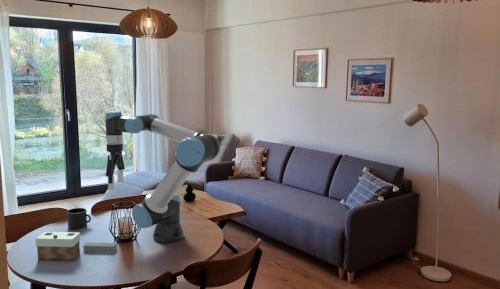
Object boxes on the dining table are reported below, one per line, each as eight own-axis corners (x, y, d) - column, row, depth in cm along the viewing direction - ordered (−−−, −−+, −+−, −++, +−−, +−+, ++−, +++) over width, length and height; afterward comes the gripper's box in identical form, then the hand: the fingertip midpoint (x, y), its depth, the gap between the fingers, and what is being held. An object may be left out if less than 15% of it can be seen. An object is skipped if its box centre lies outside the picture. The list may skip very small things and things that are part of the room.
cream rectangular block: (80, 239, 191) (79, 230, 191) (72, 247, 183) (72, 237, 183) (45, 239, 192) (44, 229, 191) (35, 246, 184) (35, 236, 183)
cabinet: (80, 255, 191) (78, 233, 190) (74, 261, 186) (73, 238, 184) (44, 254, 192) (43, 232, 190) (38, 260, 186) (36, 237, 184)
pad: (116, 249, 199) (116, 243, 199) (113, 252, 195) (113, 246, 195) (87, 248, 199) (86, 242, 199) (83, 251, 195) (83, 245, 195)
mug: (87, 230, 223) (87, 213, 221) (65, 229, 223) (64, 213, 221) (94, 224, 232) (93, 208, 230) (72, 223, 232) (71, 207, 231)
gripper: (115, 139, 218) (116, 179, 221) (97, 147, 193) (99, 192, 196) (130, 139, 218) (131, 179, 221) (113, 147, 193) (115, 192, 196)
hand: (116, 186), depth 209 cm, fingers open, 13 cm apart
